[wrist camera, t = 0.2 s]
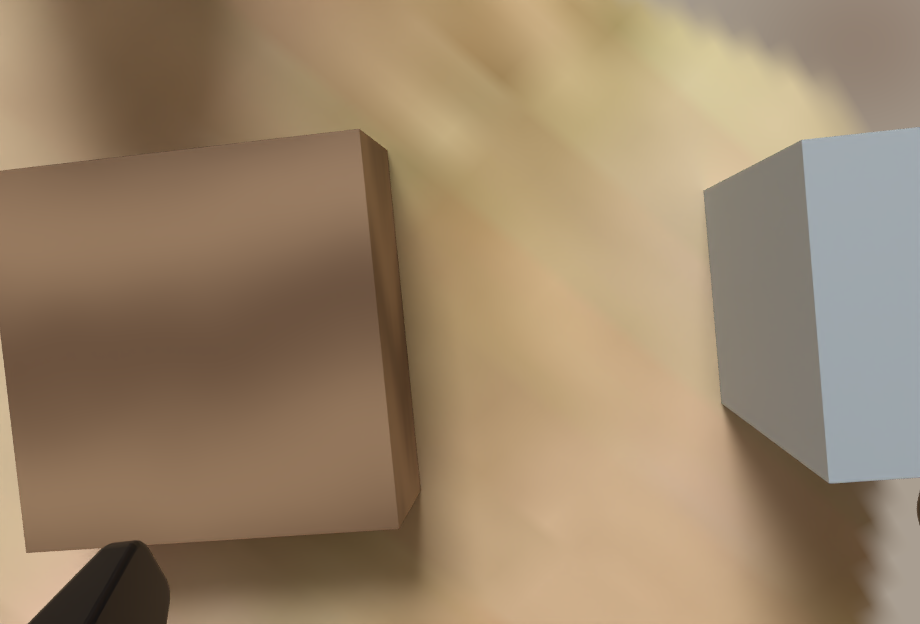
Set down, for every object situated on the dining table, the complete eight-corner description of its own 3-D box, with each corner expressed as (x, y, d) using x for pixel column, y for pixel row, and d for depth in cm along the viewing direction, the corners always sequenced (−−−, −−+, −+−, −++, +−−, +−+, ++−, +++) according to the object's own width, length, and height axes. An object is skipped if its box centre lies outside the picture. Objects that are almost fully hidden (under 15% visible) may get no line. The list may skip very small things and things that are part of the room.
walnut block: (422, 487, 25) (399, 528, 21) (105, 509, 26) (26, 552, 22) (389, 152, 24) (359, 129, 20) (69, 188, 25) (-19, 172, 22)
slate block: (944, 385, 23) (1200, 458, 14) (721, 403, 24) (829, 483, 15) (928, 167, 23) (1178, 98, 14) (703, 190, 23) (801, 139, 14)
